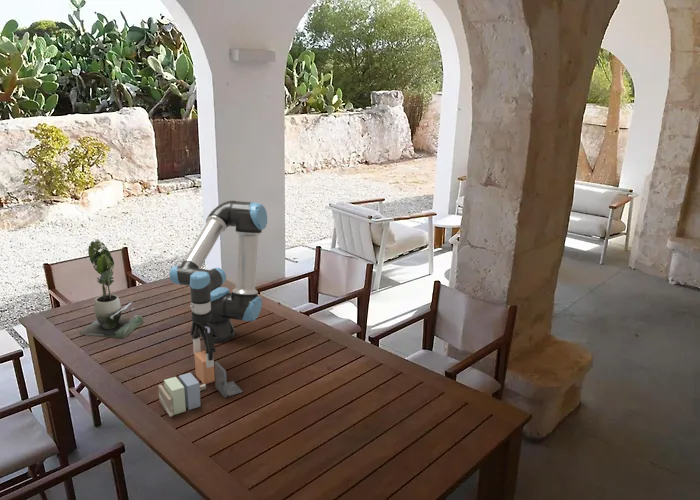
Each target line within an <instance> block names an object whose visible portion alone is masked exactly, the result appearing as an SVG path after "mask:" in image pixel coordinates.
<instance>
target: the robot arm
mask: <svg viewBox="0 0 700 500" xmlns="http://www.w3.org/2000/svg"><path fill="white" fill-rule="evenodd" d="M267 224H268V213H267V210H266V207H265V206H264V205H263V204H262V203H259V202H253V201H241V200H239V201H238V200H227V201H225V202H222V203H220V204H219V205H217V206H216V207H215V208H213V209H212V211H211V212H210V213H209V214H208V216H207V217H206V219H205V225H204V227H203V228H202V230H201V231H200V234H199V235H198V236H197V237H196V240H194V243H193V244H192V247H190V250H189V251H188V253H187V254H186V256H185V258H184V260H183V261H182V262H181V264H180V265H174V266H172V267H170V268H171V269H170V271H169V275H168V277H169V280H170V282H171V283H172V284H175V285H180V286H189V290H190V305H189V307H190V308H191V322H192V323H191V329H190V336H191V337H192V346H193V354H194V353H197V352H200V351H202V350H201V339H202V340H203V343H204V346H205V351H206V352H205V353H206V366H207V368H209V367H212V366H214V362H215V359H214V353H216V352H217V350H216V346H215V344H217V343H219V344H220V343H224V342H228V341H230V340H232V339H233V338H235V335H236V333H235V328H234V325H233V323H232V320H236V321H237V320H238V321H243V322H253V321H256V320H257V318H258V317H259V316H260V313H261V310H262V306H263V300H262V297H261V296H258V295H259V294H258V293H259V292H258V290H257V289H256V275H257V274H256V273H257V272H256V271H257V259H258V256H257V255H258V241H259V236H260V235H262V233H263V232H262V231H263V230H265V229H266V228H267ZM228 227H234V228H235V233H236V234H237V235H238V239H237V240H238V244H237V256H236V257H237V260H236V261H237V262H236V276H235V277H236V280H235V288H233V289H232V290H231V291H230V289H229V288H228V287H225V286H222V285H223V284H224V283H225V282H226V280H227V274H226V272H225V270H223V269H222V268H220V267H213V268H212V269H206V268H202V266H203V264H204V263H205V261H206V259H207V257H208V256H209V254H211V251H212V249H213V247H214V245H215V244H216V243H217V241H218V239H219V238H220V235H221V234H222V233H223V232H225V231H226V230H227V228H228ZM231 319H232V320H231ZM214 367H215V366H214Z"/></svg>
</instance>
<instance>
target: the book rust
mask: <svg viewBox="0 0 700 500" xmlns="http://www.w3.org/2000/svg"><path fill="white" fill-rule="evenodd" d="M205 352H207V350H206V349H204V350H201V351H200V352H197V353H194V352H193V355H194V367H195V369H194V370H195V376H196V377H197V378H198V379H199V380H200V382H201V383H202V385H203V384H205V385H207V384H211V383H214V382H215V366H212V367H209V368H207V366H206V353H205Z"/></svg>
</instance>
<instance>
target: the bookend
mask: <svg viewBox="0 0 700 500" xmlns="http://www.w3.org/2000/svg"><path fill="white" fill-rule="evenodd" d="M214 377H215V381H214V382H215V385H214V387H215V389H216V390H218V392H219V393H220V394H221V395H222V396H223V398H229V397H232V396H235V395H238V394H241V393H243V392H244V390H242V388H241V387H239V385H238V384H237V383H235V381H233V380H232V381H229V382H228V381H227V380H228V376H227V370H226V369H225V368H224V367H223V366H222V365H221V364H220V363H219V362H218V361H217V360H216V361H214Z"/></svg>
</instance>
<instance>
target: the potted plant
mask: <svg viewBox="0 0 700 500" xmlns="http://www.w3.org/2000/svg"><path fill="white" fill-rule="evenodd" d="M87 248H88V249H87V251H88V252H87V254H88V256H89V260H90V262H91V264H92V265H93V269H94V270H95V271H96V272H97V274H99V275H100V276H99V277H96V282H97V283H98V284H100V285H101V289H102V295H99V296H97V297H95V299H94V306H93V307H94V315H95V318H96V320H94V321H93V322H92V323H90V324H89V325H87V326H86V327H84V328H83V329H81V330H80V331H79V334H80V335H81V334H84V336H92V335H93V337H94V336H95V337H102V336H104V337H103V338H112V337H113V338H115V339H124V338H126V337H127V336H128V335H130V334H131V332H134V331H135V329H137V328H138V327H139V326H141V325H142V323H144V316H141V315H138V314H136V315H134V316H133V317H132V318H129V317H121V316H122V312H123V311H125V312H126V310H127V309H128V308H129V307H130V306H131V305H132V303H133V302H132V301H131V302H129V303H128V304H127V305H125V306H124V307H122V305H121V301H120V300H121V299H120V298H119V296H118V295H116V294H112V293H111V289H110V285H112V284H113V283H114V282H115V280H114V277H113V275H114V270H113V269H115V268H114V265H115V262H114V259H113V256H112V253H111V251H110V250H109V249H108V246H107V245H106V244H104V242H101V240H100V239H98V238H97V239H95V240H94V241H93V240H92V241H91V242H90V244H89V245H88V247H87ZM107 290H108V294H107ZM134 309H135V307H132V308H131V311H132V312H133V310H134Z"/></svg>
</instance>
